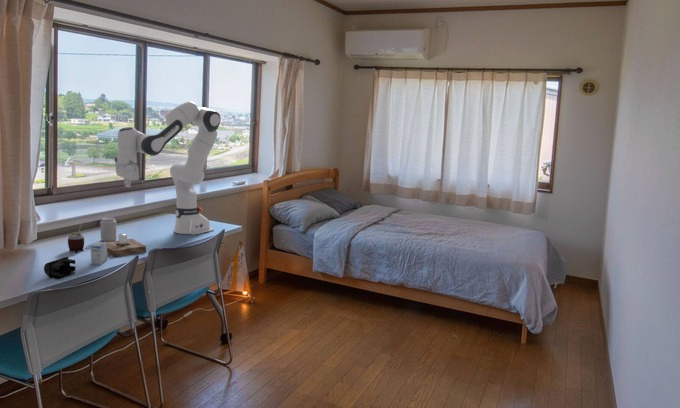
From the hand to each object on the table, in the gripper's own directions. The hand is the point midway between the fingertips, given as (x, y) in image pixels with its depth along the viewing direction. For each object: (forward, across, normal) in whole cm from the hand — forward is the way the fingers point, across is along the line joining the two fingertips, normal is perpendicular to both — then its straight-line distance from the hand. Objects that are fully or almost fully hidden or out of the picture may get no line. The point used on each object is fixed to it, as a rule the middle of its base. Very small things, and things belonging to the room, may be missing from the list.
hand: (127, 186), depth 269 cm
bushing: (+29, -13, +8) cm, 33 cm away
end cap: (+30, -35, +43) cm, 63 cm away
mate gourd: (+29, -3, +26) cm, 39 cm away
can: (+29, +8, +7) cm, 31 cm away
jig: (+29, -13, +8) cm, 33 cm away
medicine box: (+29, -26, +24) cm, 46 cm away
